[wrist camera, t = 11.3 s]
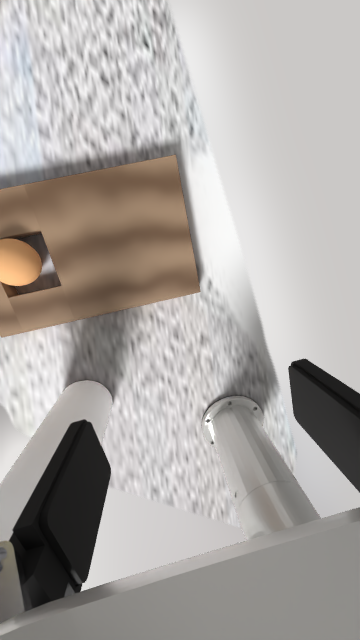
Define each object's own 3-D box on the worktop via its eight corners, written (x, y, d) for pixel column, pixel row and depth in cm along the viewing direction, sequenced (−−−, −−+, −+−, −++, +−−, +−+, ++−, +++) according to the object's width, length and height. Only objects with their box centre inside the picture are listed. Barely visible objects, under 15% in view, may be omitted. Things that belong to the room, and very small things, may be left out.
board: (197, 289, 35) (200, 292, 33) (12, 331, 34) (1, 337, 31) (174, 162, 30) (175, 154, 27) (-48, 206, 28) (-67, 202, 26)
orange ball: (52, 274, 33) (50, 271, 28) (11, 293, 31) (1, 294, 26) (25, 236, 31) (18, 225, 26) (-20, 254, 29) (-38, 246, 24)
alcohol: (94, 368, 37) (-113, 752, 8) (123, 404, 40) (42, 788, 11) (51, 393, 37) (-285, 841, 9) (83, 427, 40) (-96, 855, 11)
